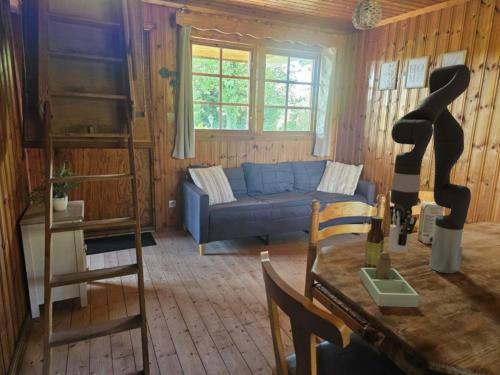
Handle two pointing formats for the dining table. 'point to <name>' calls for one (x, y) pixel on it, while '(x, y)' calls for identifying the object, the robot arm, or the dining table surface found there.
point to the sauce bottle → (374, 242)
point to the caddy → (388, 284)
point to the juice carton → (428, 221)
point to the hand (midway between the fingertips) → (398, 242)
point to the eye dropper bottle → (393, 240)
